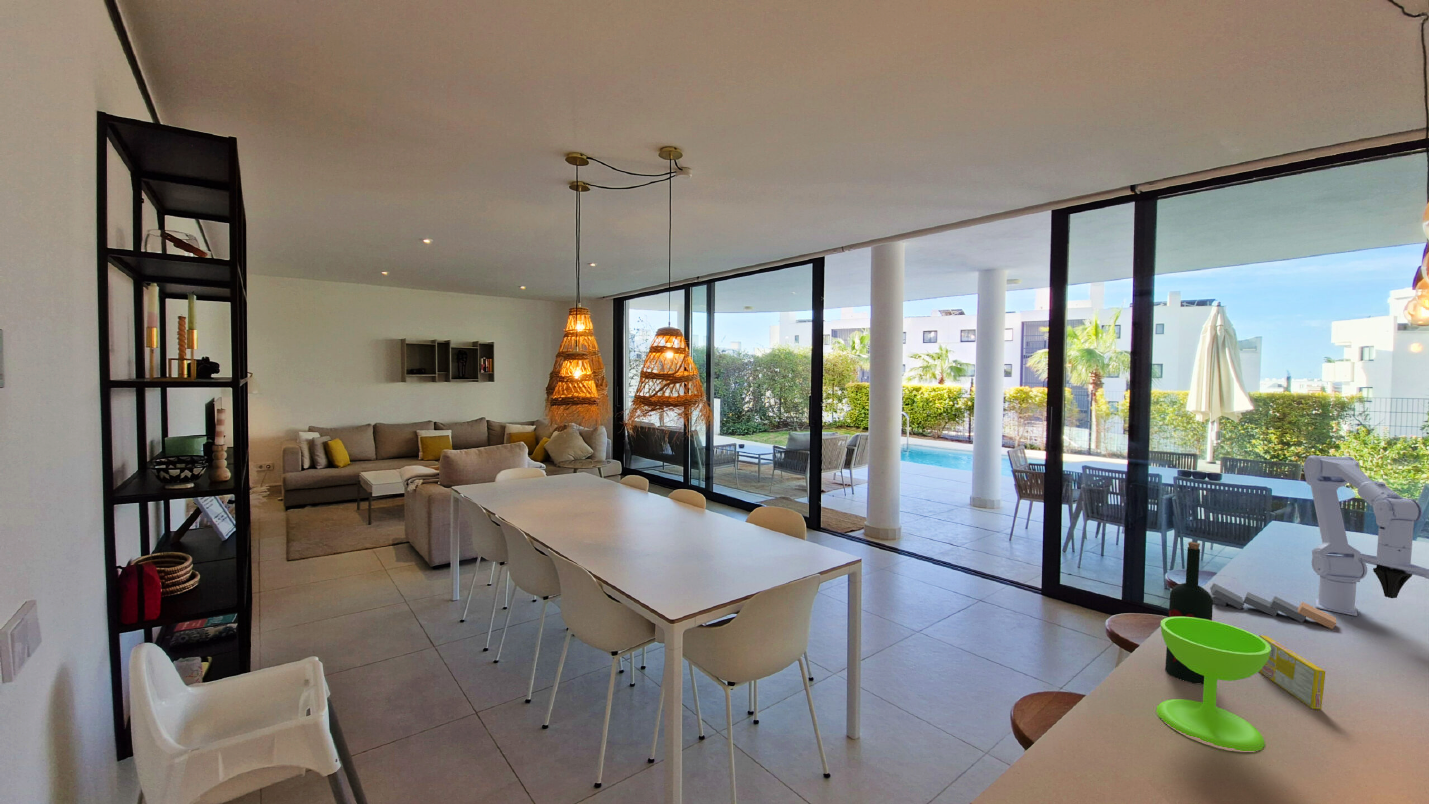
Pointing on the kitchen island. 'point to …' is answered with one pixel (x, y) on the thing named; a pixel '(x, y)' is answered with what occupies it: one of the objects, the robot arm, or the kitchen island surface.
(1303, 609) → the tile head
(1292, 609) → the tile
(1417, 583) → the kitchen island surface
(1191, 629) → the wineglass
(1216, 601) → the tile
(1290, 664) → the candy box
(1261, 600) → the tile
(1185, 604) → the wine bottle
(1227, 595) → the tile
